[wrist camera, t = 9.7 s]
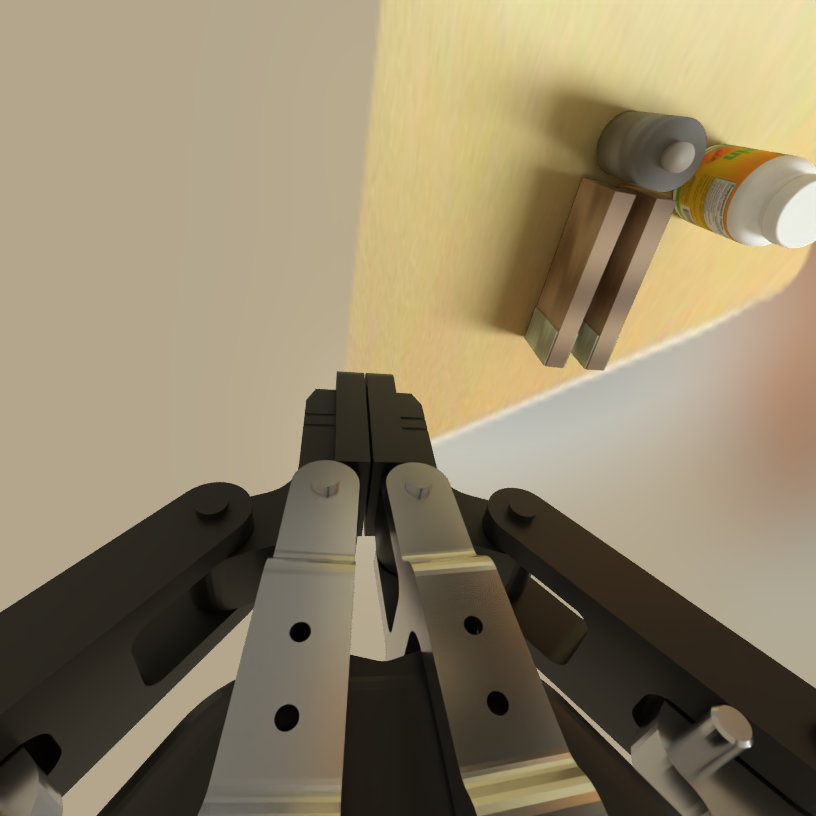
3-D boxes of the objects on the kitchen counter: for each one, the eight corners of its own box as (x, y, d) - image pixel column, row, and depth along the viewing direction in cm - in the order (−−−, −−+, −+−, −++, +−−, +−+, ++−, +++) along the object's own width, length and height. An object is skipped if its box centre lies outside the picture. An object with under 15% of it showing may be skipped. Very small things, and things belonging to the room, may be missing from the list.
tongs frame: (609, 106, 31) (666, 112, 26) (667, 116, 32) (734, 124, 26) (534, 338, 41) (564, 379, 35) (579, 342, 42) (615, 382, 36)
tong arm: (580, 177, 33) (613, 190, 29) (602, 181, 34) (638, 195, 30) (524, 337, 41) (544, 366, 37) (542, 339, 41) (564, 368, 37)
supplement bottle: (753, 141, 33) (879, 160, 26) (725, 219, 37) (830, 257, 29) (683, 145, 33) (789, 165, 25) (661, 223, 36) (749, 263, 28)
